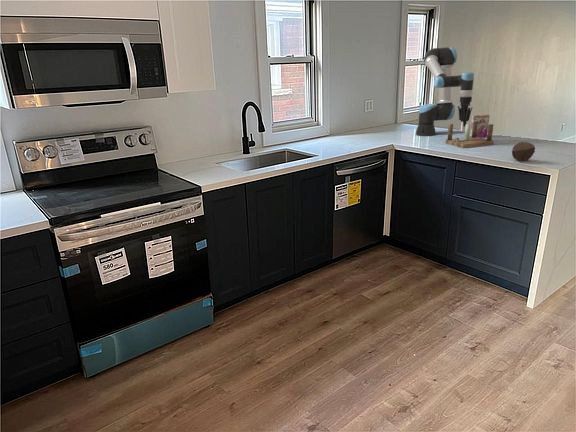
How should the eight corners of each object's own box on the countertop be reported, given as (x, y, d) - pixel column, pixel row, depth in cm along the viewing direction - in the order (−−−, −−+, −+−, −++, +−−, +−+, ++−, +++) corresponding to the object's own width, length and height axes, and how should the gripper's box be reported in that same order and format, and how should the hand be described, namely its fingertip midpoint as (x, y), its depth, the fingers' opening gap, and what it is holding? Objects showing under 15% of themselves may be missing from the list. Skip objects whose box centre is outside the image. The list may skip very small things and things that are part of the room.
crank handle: (456, 142, 290) (457, 126, 286) (453, 141, 293) (454, 125, 289) (469, 140, 293) (471, 124, 289) (467, 139, 295) (468, 123, 292)
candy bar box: (471, 138, 313) (473, 115, 308) (469, 136, 318) (471, 114, 312) (487, 137, 312) (489, 115, 306) (485, 136, 317) (487, 114, 311)
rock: (514, 155, 238) (507, 142, 244) (512, 166, 247) (505, 154, 252) (537, 149, 236) (530, 136, 242) (534, 160, 244) (527, 148, 250)
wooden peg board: (445, 143, 302) (446, 124, 297) (474, 139, 307) (476, 121, 302) (462, 148, 283) (464, 128, 279) (493, 144, 289) (495, 124, 284)
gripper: (455, 96, 293) (452, 130, 301) (467, 97, 281) (464, 132, 289) (464, 95, 294) (461, 129, 303) (477, 96, 283) (473, 131, 291)
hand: (462, 130), depth 296 cm, fingers closed
